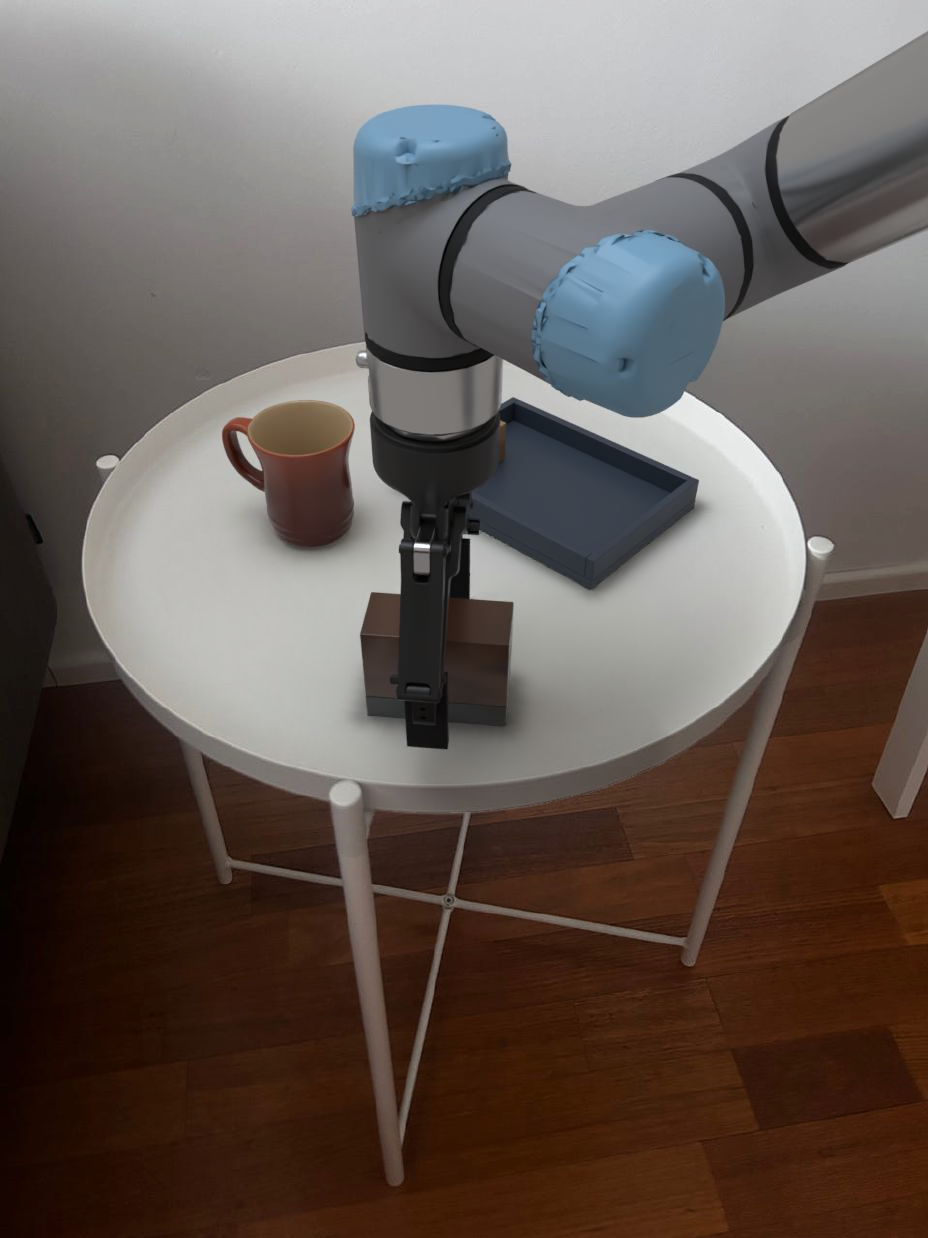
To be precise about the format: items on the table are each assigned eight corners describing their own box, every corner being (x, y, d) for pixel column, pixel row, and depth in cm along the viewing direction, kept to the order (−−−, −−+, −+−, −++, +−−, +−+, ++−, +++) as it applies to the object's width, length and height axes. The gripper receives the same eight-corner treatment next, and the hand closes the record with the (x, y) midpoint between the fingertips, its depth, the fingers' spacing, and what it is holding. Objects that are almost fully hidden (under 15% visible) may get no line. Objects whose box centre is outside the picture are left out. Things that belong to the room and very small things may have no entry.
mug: (379, 511, 91) (372, 411, 84) (334, 568, 85) (323, 465, 78) (263, 482, 94) (247, 384, 87) (212, 535, 88) (191, 434, 81)
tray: (694, 507, 91) (699, 479, 89) (590, 590, 83) (594, 561, 81) (511, 422, 102) (513, 396, 100) (403, 488, 94) (402, 461, 92)
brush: (510, 682, 75) (513, 601, 70) (505, 726, 72) (509, 645, 66) (377, 672, 76) (370, 591, 70) (367, 715, 73) (359, 634, 67)
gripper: (402, 308, 67) (413, 558, 81) (324, 537, 49) (356, 808, 63) (515, 314, 66) (506, 564, 81) (479, 547, 48) (476, 818, 62)
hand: (440, 671), depth 72 cm, fingers open, 13 cm apart
